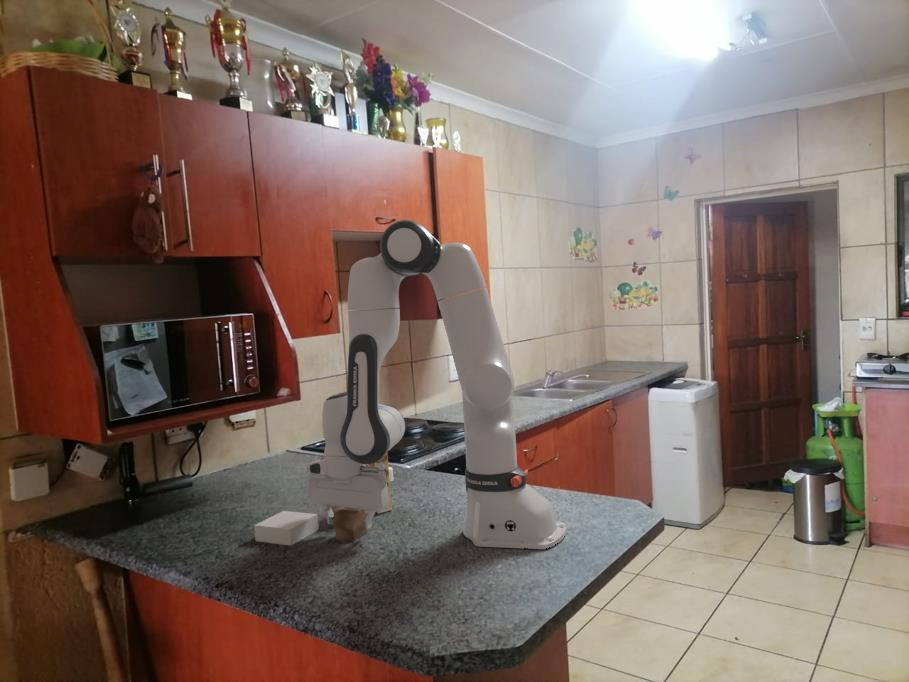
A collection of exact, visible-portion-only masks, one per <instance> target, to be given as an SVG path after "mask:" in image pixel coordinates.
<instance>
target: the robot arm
mask: <svg viewBox="0 0 909 682" xmlns="http://www.w3.org/2000/svg"><path fill="white" fill-rule="evenodd" d="M379 250H380V253H379V254H378V255H376V256H374V257H373V256H372V257H365V258H362V259H360V260H358V261H356V262H354V263H353V265H352V266H351V268H350V270H349V278H348V287H347V310H348V311H347V315H348V336H349V337H348V338H349V339H348V342H349V343H348V358H347V360H348V362H347V391H344V392H340V393H336V394H333V395H331V396H329V397H327V398H326V399H325V400H324V401H323V406H322V417H321V418H322V419H321V420H322V421H321V422H322V435H323V438H324V442H325V446H324V447H325V448H324V453H323V454H324V457H322V458H320V459H317V460H314V461H312V462H310V463H308V464H307V465H306V472H307V474H308V475H307V477H306V498H307V500H308V502H309V503H310V504H312V505H313V504H314V505H320V506H321V509H322V512H323V513H324V515H325V516H326V523H327V524H328V525H335V521H334V513H333V511H332V509H331V507H332V506H338V507H347V508H356V509H364V510H365V514H366V519H365V520H363V521H362V528H365V529H367V530H370V529H371V528H372V527H373V521H372V520H373V518H374V517H375V514H376V511H381V510H383V509H385V508H386V507H387V506H388V505H389V502H390V501H389V493H388V487H387V483H386V474H385V473H384V472H383V471H382V470H380V468H378V467H368V466H366V465H365V464H372V463H375V462H377V461H378V460H380V459H381V458H382V457H383V456H384V454H385V453H386V452H387V453H388V451H390V450H391V449H392V448H393V447H394V446H395V445H397V444H398V443H399V442H401V440H402V439H403V437H404V436H405V433H406V427H407V426H406V420H405V418H404V416H403V414H402V413H401V411H399V410H398V409H397V408H395V407H394V406H391V405H385V404H381V403H380V398H379V397H380V395H379V394H380V370H381V366H382V364H383V361H384V359H385V358H386V356H387V354H388V353H389V352H390V350H391V348H392V347H393V346H394V345H395V344H396V342H397V340H398V337H399V333H400V326H401V325H400V323H401V315H400V314H401V313H400V312H401V311H400V297H399V296H400V293H399V292H400V286H401V282H402V281H405V280H407V279H411V278H412V277H413V278H414V277H417V276H419V275H421V274H423V275H425V276H426V277H427V278H428V279H429V281H430V283H431V285H432V289H433V291H434V295H435V297H436V301H437V305H438V308H439V311H440V315H441V318H442V319H441V320H442V321H443V326H444V329H445V332H446V336H447V339H448V343H449V347H450V350H451V354H452V355H451V356H452V358H453V362H454V366H455V370H456V374H457V378H458V381H459V385H460V389H461V392H462V393H461V394H462V395H461V397H462V409H463V410H462V411H463V430H464V446H465V448H464V449H465V459H466V460H465V461H466V462H465V463H466V465H465V466H466V468H465V469H464V475H465V476H464V481H465V490H466V491H465V492H466V493H467V496H466V497H467V499H466V500H467V501H466V502H467V504H466V514H465V522H464V526H463V530H462V533H463V536H464V537H466V538H467V539H469V540H471V542H472V543H473V545H474V546H475V547H478V548H479V547H481V548H482V547H483V548H484V547H485V548H503V549H504V548H506V549H507V548H508V549H524V548H526V549H527V548H528V549H529V550H546V548H547V549H549V547H550V548H552V547H554V546H556V545H558V544H559V543H560V542H562V541H563V539H564V538H565V537H566V536H567V533H568V531H567V530H568V529H567V525H566V524H565V523H564V522H562V521H557V518H556V513H555V510H554V507H553V504H552V503H551V501H550V500H548V499H547V498H546V497H544V496H543V495H542V494H540V493H539V492H538V491H536V490H535V489H534V488H532V487H531V486H530V485H529V484H527V476H528V475H529V469H526V470H522V468H520V466H519V465H518V462H517V461H518V460H517V459H518V457H517V441H516V440H517V439H516V427H515V417H514V410H513V400H512V399H513V397H512V396H513V393H514V389H515V378H514V375H513V372H512V368H511V365H510V361H509V358H508V355H507V352H506V351H507V350H506V348H505V345H504V341H503V338H502V336H501V332H500V329H499V326H498V325H499V324H498V323H497V319H496V315H495V312H494V308H493V304H492V302H491V297H490V295H489V290H488V287H487V283H486V280H485V277H484V275H483V272H482V270H481V267H480V264H479V262H478V260H477V258H476V256H475V254H474V252H473V250H472V248H471V247H470V246H468V245H467V244H465V243H462V242H449V243H443V244H441V243H440V241H438V239H436V238H435V236H433V235H432V234H431V232H429V230H427V229H426V228H425V227H424V226H423V225H421V224H420V223H419V222H416V221H414V220H405V219H402V220H398V221H396V222H393V223H392V224H391V225H389V226H388V227H387V228H386V229H385V231H384V232H383V233H382V235H381V238H380V242H379ZM564 536H565V537H564ZM557 543H558V544H557ZM555 544H556V545H555Z"/></svg>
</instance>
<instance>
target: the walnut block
mask: <svg viewBox="0 0 909 682" xmlns="http://www.w3.org/2000/svg"><path fill="white" fill-rule="evenodd" d="M366 517H367V514H365V510H364V509H356V508H347V507H344V508H342V509H340V510H338V511H336V512H334V521H335V524H334V530H335V533H334V534H335V540H341V541H348V542H349V541H350V542H356V541H357V540H359V539H361V538H362V537H364V536H365V535H367V534H368V529H365V528H362V521H363V520H365V519H366Z"/></svg>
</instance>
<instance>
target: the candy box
mask: <svg viewBox="0 0 909 682" xmlns="http://www.w3.org/2000/svg"><path fill="white" fill-rule="evenodd" d="M388 457H389V453H388V451H387V452H386V453H385V454H384V456H383V457H382V458H381V459H380V460H378V461H377V462H375V463H372V464H365V465H366V466H368V467H378V468H380V470H382V471H383V472H384V473H385V474H386V483H387V487H388V493H389V501H390V502H389V505H388V506H387V507H386V508H385V509H383V510H381V511H376V512H375V514H376V513H377V514H383V513H386V512H390V511H392V510H393V507H392V504H393V503H392V491H391V490H392V489H391V482H390V478H389V467H390V466H389V458H388Z"/></svg>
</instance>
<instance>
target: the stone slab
mask: <svg viewBox="0 0 909 682" xmlns="http://www.w3.org/2000/svg"><path fill="white" fill-rule="evenodd" d="M253 527H254V528H253V529H254V538H255V542H260V543H267V544H277V545H283V546H290V545H291V546H293V545H295V544H297V543H298V542H300V541H301V539H302V540H303V539H305V538H307V537H308V536H310V535H312V534H314V533H315V532H317V531H318V530H319V529H320V528H319V527H320V526H319V518H318V514H317V513H310V512H308V513H307V512H297V511H290V510H289V511H288V510H282V511H280V512H278V513H276V514H275V515H272V516H270V517H268V518H266V519H264V520H262V521H260V522H258V523H256V524H254V526H253Z"/></svg>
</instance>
